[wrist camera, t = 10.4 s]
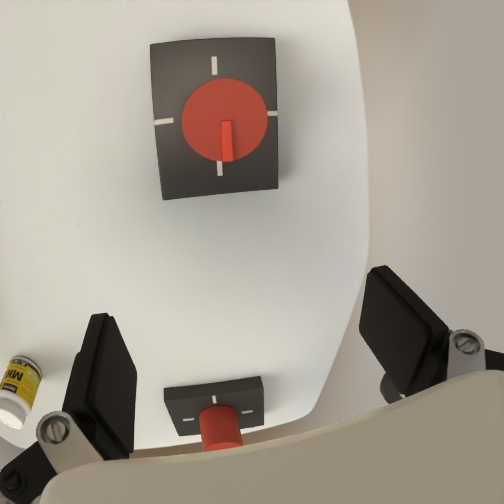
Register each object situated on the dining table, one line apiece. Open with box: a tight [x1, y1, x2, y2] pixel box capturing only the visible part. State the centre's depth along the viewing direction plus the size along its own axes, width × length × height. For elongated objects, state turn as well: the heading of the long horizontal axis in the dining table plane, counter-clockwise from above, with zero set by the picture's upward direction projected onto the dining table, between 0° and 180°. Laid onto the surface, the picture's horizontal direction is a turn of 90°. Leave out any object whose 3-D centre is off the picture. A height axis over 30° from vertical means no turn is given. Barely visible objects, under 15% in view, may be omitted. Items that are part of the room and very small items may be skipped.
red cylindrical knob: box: [182, 78, 268, 162], centre depth 19 cm, size 5×5×6 cm
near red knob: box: [199, 406, 243, 452], centre depth 34 cm, size 5×5×6 cm
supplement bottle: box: [0, 357, 42, 429], centre depth 27 cm, size 5×5×8 cm
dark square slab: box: [150, 37, 278, 200], centre depth 22 cm, size 12×9×2 cm
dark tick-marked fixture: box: [164, 376, 264, 436], centre depth 37 cm, size 12×9×2 cm
